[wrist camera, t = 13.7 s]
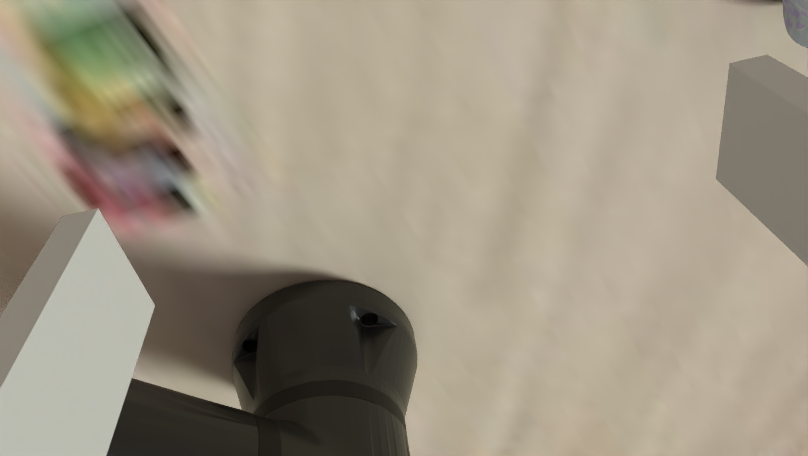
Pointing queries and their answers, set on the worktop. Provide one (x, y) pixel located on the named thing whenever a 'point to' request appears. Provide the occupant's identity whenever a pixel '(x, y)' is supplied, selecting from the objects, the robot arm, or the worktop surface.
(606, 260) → the worktop surface
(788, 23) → the pencil case
